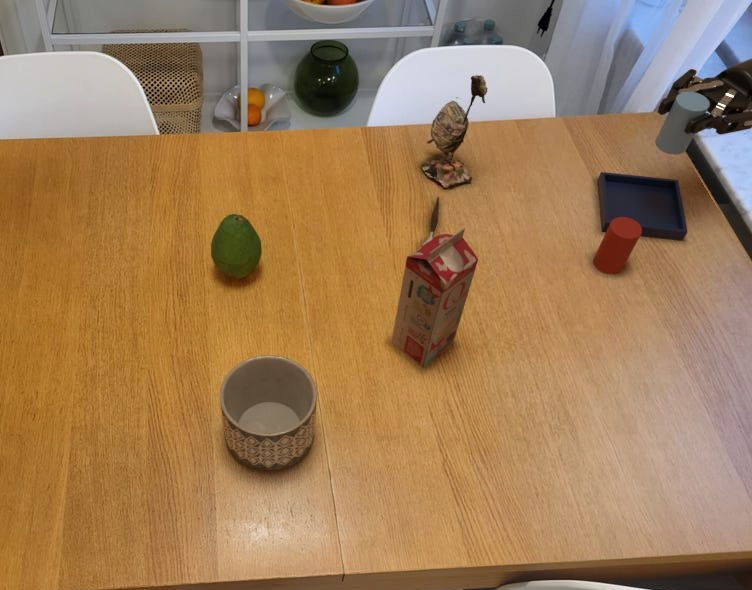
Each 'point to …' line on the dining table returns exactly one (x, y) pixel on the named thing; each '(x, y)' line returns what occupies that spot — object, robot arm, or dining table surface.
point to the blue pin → (680, 122)
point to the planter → (268, 411)
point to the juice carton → (433, 297)
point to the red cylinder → (617, 245)
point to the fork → (433, 221)
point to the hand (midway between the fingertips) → (674, 118)
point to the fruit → (236, 247)
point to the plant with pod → (452, 138)
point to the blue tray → (643, 204)
